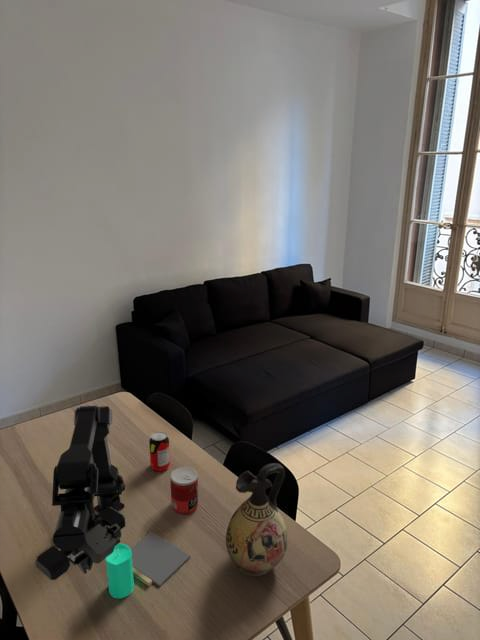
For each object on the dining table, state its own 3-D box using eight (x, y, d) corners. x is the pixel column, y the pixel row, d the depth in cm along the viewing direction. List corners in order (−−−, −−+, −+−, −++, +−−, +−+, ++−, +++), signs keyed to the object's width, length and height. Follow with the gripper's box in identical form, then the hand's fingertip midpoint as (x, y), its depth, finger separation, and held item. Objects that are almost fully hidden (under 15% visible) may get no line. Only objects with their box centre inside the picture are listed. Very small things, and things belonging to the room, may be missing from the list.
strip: (121, 566, 121) (121, 563, 121) (124, 564, 122) (124, 560, 121) (149, 587, 116) (149, 583, 115) (152, 584, 116) (152, 580, 116)
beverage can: (168, 459, 163) (166, 429, 159) (171, 470, 158) (170, 439, 154) (149, 463, 161) (147, 432, 157) (152, 474, 156) (150, 442, 152)
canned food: (194, 517, 138) (193, 485, 134) (167, 512, 139) (166, 481, 136) (201, 499, 145) (201, 468, 141) (176, 495, 146) (175, 465, 143)
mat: (120, 559, 123) (120, 557, 123) (151, 533, 132) (151, 531, 132) (159, 586, 116) (159, 585, 115) (190, 557, 124) (190, 555, 124)
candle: (110, 577, 118) (107, 539, 114) (135, 576, 118) (132, 538, 114) (106, 599, 112) (102, 559, 108) (132, 597, 113) (129, 558, 109)
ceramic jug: (240, 597, 113) (242, 493, 103) (217, 550, 127) (217, 453, 117) (302, 574, 120) (310, 474, 110) (274, 531, 133) (279, 439, 123)
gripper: (64, 560, 87) (72, 623, 92) (140, 504, 102) (144, 561, 107) (29, 533, 93) (39, 593, 99) (106, 483, 108) (111, 538, 113)
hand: (86, 571), depth 104 cm, fingers closed
